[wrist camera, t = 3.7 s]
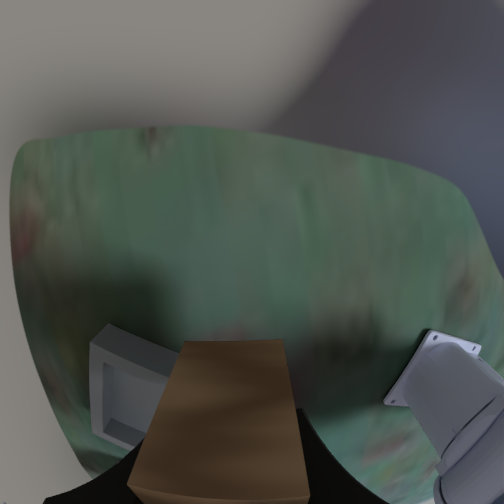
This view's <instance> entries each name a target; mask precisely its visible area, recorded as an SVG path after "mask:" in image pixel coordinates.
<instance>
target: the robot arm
mask: <svg viewBox="0 0 504 504" xmlns="http://www.w3.org/2000/svg"><path fill="white" fill-rule="evenodd" d="M434 336H435V337H434ZM480 349H481V345H480V344H478V343H474V342H471V341H468V340H464V339H461V338H458V337H455V336H451V335H448V334H445V333H442V332H439V331H435V330H429V331H428V332H427V334H426V335H425V337H424V339H423V341H422V342H421V344H420V346H419V347H418V349H417V351H416V352H415V354H414V356H413V357H412V359H411V361H410V362H409V364H408V365H407V367H406V368H405V370H404V371H403V373H402V374H401V376H400V377H399V379H398V380H397V382H396V383H395V385H394V386H393V387H392V389H391V390H390V392H389V393H388V394H387V396H386V397H385V398H384V400H383V402H384V404H385V405H393V406H409V408H410V409H411V411H412V412H413V414H414V415H415V417H416V419H417V420H418V422H419V423H420V425H421V427H422V428H423V430H424V431H425V433H426V435H427V436H428V438H429V440H430V441H431V443H432V445H433V446H434V448H435V450H436V451H437V453H438V455H439V457H440V458H441V461H440V462H439V463H438V464H437V465H436V469H437V471H438V473H439V476H438V477H437V478H436V480H435V483H434V489H433V493H434V500H435V504H504V379H503V378H502V377H501V376H500V375H499V374H498V373H497V372H496V371H495V370H494V369H493V368H491V367H490V366H489V365H488V364H487V363H486V362H485V361H484V360H482V359H481V358H480V357H479V356H478V353H479V351H480ZM296 415H297V420H298V426H299V432H300V437H301V443H302V449H303V455H304V461H305V467H306V473H307V479H308V485H309V491H310V498H309V501H308V504H389V503H387V502H386V501H384V500H382V499H381V498H379V497H378V496H377V495H375V494H374V493H372V492H371V491H370V490H368V489H367V488H365V487H364V486H363V485H362V484H361V483H359V482H358V481H357V480H356V479H355V478H354V477H353V476H352V475H351V474H350V473H348V472H347V471H346V470H345V468H344V467H343V466H342V465H341V464H340V463H339V462H338V461H337V460H336V458H335V457H334V456H333V455H332V454H331V452H330V451H329V450H328V449H327V447H326V446H325V444H324V443H323V442H322V440H321V439H320V437H319V436H318V434H317V433H316V431H315V430H314V428H313V426H312V425H311V423H310V421H309V419H308V417H307V415H306V413H305V411H304V409H302V408H298V409H296ZM144 438H145V437H144ZM144 438H143V439H142V440H141V442H140V443H139V444H138V445H137V446H136V447H135V448H134V449H133V450H131V451H130V452H129V453H128V454H127V455H126V456H125V457H124V458H123V459H122V460H120V461H119V462H118V463H117V464H115V465H114V466H113V467H111V468H110V469H109V470H107V471H106V472H104V473H103V474H101V475H100V476H98V477H97V478H95V479H93V480H91V481H90V482H88V483H86V484H83V485H81V486H79V487H77V488H75V489H73V490H71V491H68V492H65V493H62V494H59V495H55V496H52V497H48V498H46V499H45V500H44V502H43V504H144V503H143V502H142V501H141V500H140V499H139V498H138V497H137V495H136V494H135V493H134V492H133V491H132V490H131V489H130V487H129V486H128V485H127V482H128V480H129V477H130V474H131V472H132V469H133V466H134V464H135V461H136V459H137V456H138V454H139V451H140V448H141V446H142V443H143V441H144ZM3 504H6V503H3Z"/></svg>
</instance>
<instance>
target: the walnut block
mask: <svg viewBox="0 0 504 504" xmlns="http://www.w3.org/2000/svg"><path fill="white" fill-rule="evenodd" d="M127 485H128V486H129V487H130V489H131V490H132V491H133V492H134V493H135V494H136V495H137V497H138V498H139V499H140V500H141V501H142V502H143V503H144V504H308V501H309V498H310V491H309V485H308V479H307V473H306V467H305V461H304V455H303V449H302V443H301V437H300V432H299V426H298V420H297V415H296V409H295V404H294V398H293V393H292V387H291V382H290V376H289V371H288V365H287V360H286V355H285V349H284V344H283V339H276V340H256V341H185V342H184V344H183V347H182V349H181V351H180V354H179V356H178V358H177V361H176V363H175V365H174V368H173V370H172V372H171V375H170V377H169V380H168V382H167V384H166V387H165V389H164V392H163V394H162V396H161V399H160V401H159V404H158V406H157V408H156V411H155V413H154V416H153V418H152V421H151V423H150V426H149V428H148V431H147V433H146V436H145V438H144V441H143V443H142V446H141V448H140V451H139V454H138V456H137V459H136V461H135V464H134V466H133V469H132V472H131V474H130V477H129V480H128V482H127Z"/></svg>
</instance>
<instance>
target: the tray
mask: <svg viewBox="0 0 504 504" xmlns="http://www.w3.org/2000/svg"><path fill="white" fill-rule="evenodd" d="M179 354H180V353H177V352H175V351H172V350H170V349H167V348H164V347H162V346H159V345H157V344H154V343H152V342H150V341H147V340H145V339H143V338H140V337H138V336H136V335H133V334H131V333H129V332H127V331H124V330H122V329H120V328H118V327H116V326H114V325H112V324H109V323H108V324H107V325H106V326H105V327H104V328H103V329H102V330H101V331H100V332H99V333H98V334H97V335H96V336H95V337H94V338H93V339H92V340H91V341H90V351H89V393H90V412H91V425H92V433H94V434H96V435H97V436H99V437H101V438H103V439H105V440H108V441H110V442H112V443H114V444H116V445H118V446H120V447H123V448H125V449H127V450H130V451H131V450H133V449H134V448H135V447H136V446H137V445H138V444H139V443H140V442H141V440H142V439H143V438H144V437H145V436H146V433H147V431H148V428H149V426H150V423H151V421H152V418H153V416H154V413H155V411H156V408H157V406H158V404H159V401H160V399H161V396H162V394H163V392H164V389H165V387H166V384H167V382H168V380H169V377H170V375H171V372H172V370H173V368H174V365H175V363H176V361H177V358H178V356H179Z"/></svg>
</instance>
